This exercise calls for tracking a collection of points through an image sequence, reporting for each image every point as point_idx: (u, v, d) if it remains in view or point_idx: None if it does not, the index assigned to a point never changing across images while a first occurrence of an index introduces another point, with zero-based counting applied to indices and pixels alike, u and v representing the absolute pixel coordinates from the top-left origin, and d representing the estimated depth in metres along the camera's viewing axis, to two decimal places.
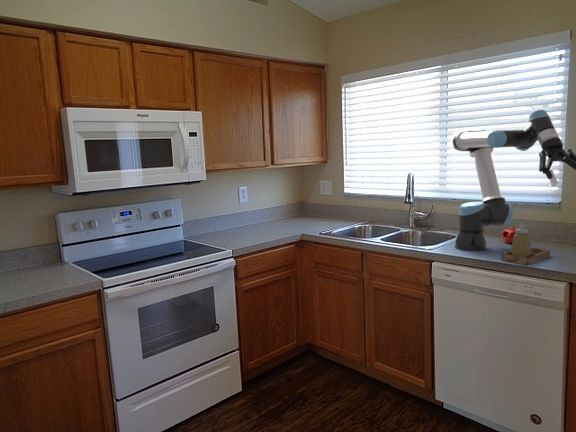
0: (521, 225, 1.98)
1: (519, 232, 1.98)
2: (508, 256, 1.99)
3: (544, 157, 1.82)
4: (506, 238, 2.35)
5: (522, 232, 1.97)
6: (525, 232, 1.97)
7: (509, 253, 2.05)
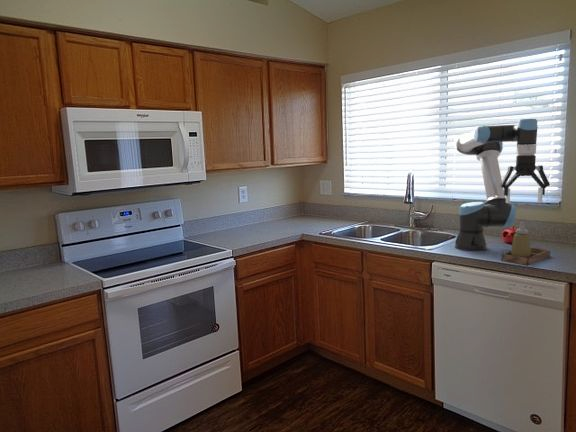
0: (521, 225, 1.98)
1: (519, 232, 1.98)
2: (508, 256, 1.99)
3: (508, 174, 1.95)
4: (506, 238, 2.35)
5: (522, 232, 1.97)
6: (525, 232, 1.97)
7: (509, 253, 2.05)
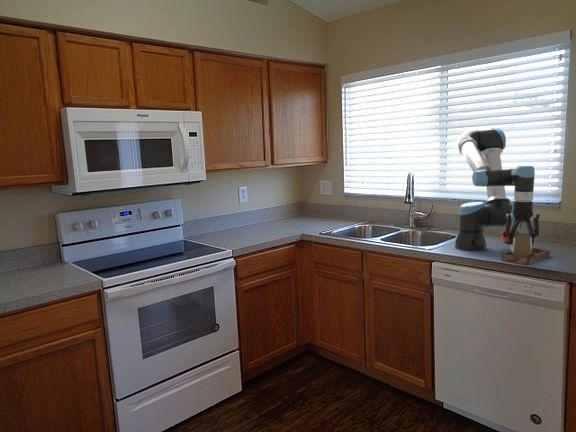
0: (521, 225, 1.98)
1: (519, 232, 1.98)
2: (508, 256, 1.99)
3: (509, 223, 1.98)
4: (506, 238, 2.35)
5: (522, 232, 1.97)
6: (525, 232, 1.97)
7: (509, 253, 2.05)
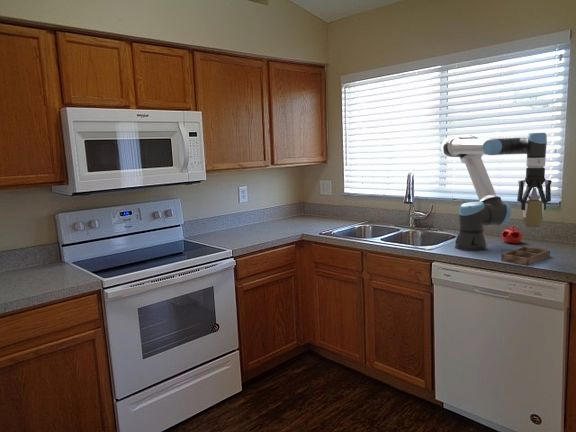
0: (533, 191, 2.02)
1: (531, 198, 2.02)
2: (508, 256, 1.99)
3: (521, 189, 2.02)
4: (506, 238, 2.35)
5: (534, 198, 2.01)
6: (537, 198, 2.01)
7: (509, 253, 2.05)
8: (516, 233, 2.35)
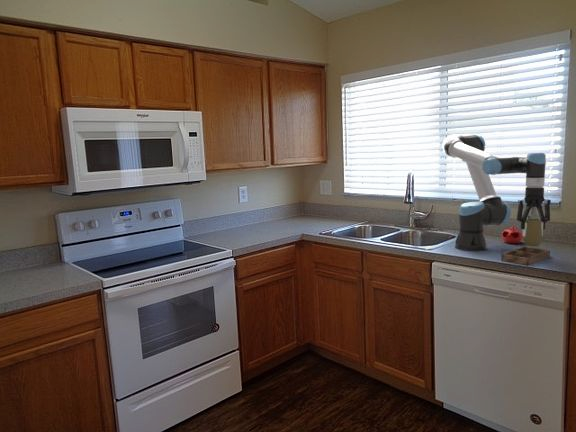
0: (533, 210, 2.04)
1: (531, 217, 2.03)
2: (508, 256, 1.99)
3: (521, 208, 2.04)
4: (506, 238, 2.35)
5: (534, 217, 2.02)
6: (537, 217, 2.02)
7: (509, 253, 2.05)
8: (516, 233, 2.35)
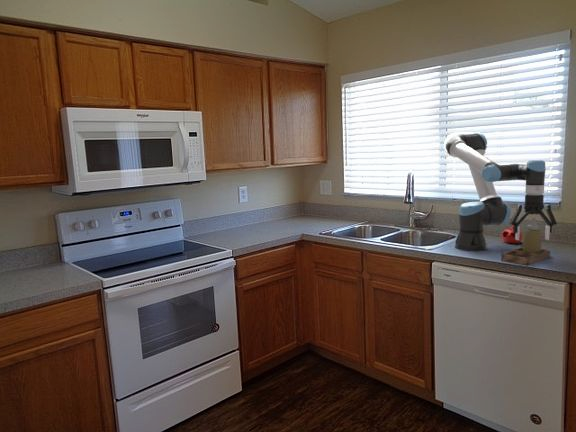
0: (532, 221, 2.04)
1: (530, 228, 2.04)
2: (508, 256, 1.99)
3: (518, 213, 2.04)
4: (506, 238, 2.35)
5: (533, 228, 2.03)
6: (536, 228, 2.03)
7: (509, 253, 2.05)
8: None
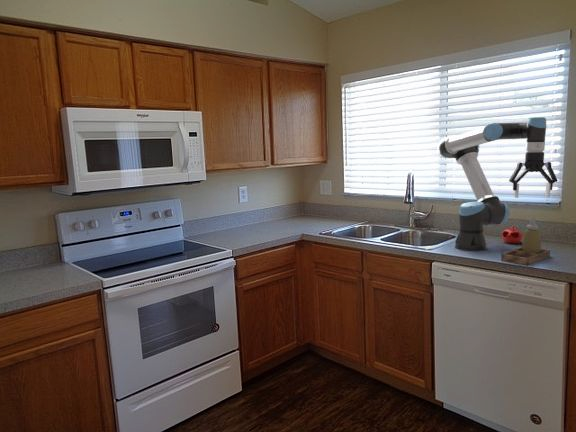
0: (532, 221, 2.04)
1: (530, 228, 2.04)
2: (508, 256, 1.99)
3: (517, 170, 2.04)
4: (506, 238, 2.35)
5: (533, 228, 2.03)
6: (536, 228, 2.03)
7: (509, 253, 2.05)
8: (516, 233, 2.35)
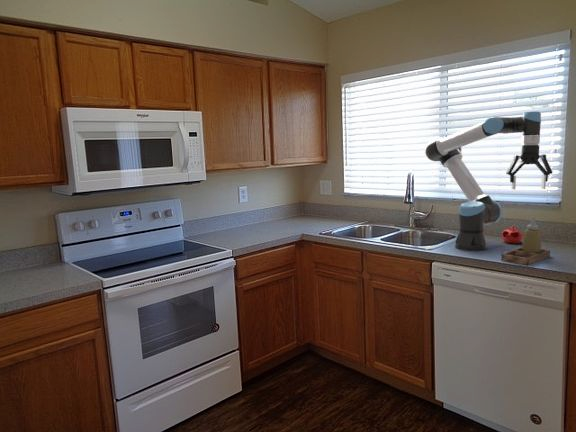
0: (532, 221, 2.04)
1: (530, 228, 2.04)
2: (508, 256, 1.99)
3: (514, 163, 2.12)
4: (506, 238, 2.35)
5: (533, 228, 2.03)
6: (536, 228, 2.03)
7: (509, 253, 2.05)
8: (516, 233, 2.35)
